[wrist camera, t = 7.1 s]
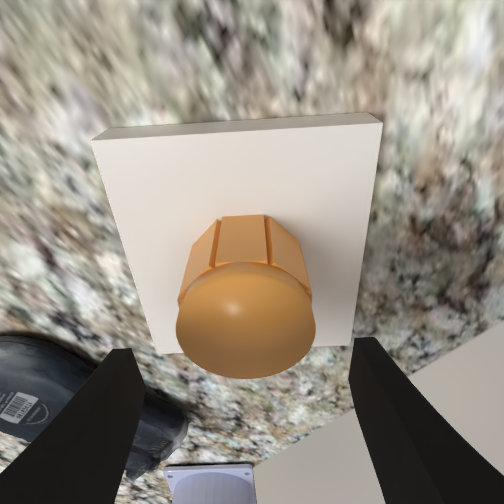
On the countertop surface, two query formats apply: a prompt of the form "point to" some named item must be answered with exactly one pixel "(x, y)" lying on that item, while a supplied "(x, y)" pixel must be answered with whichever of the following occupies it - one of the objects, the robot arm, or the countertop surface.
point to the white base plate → (244, 202)
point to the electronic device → (63, 389)
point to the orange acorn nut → (245, 299)
